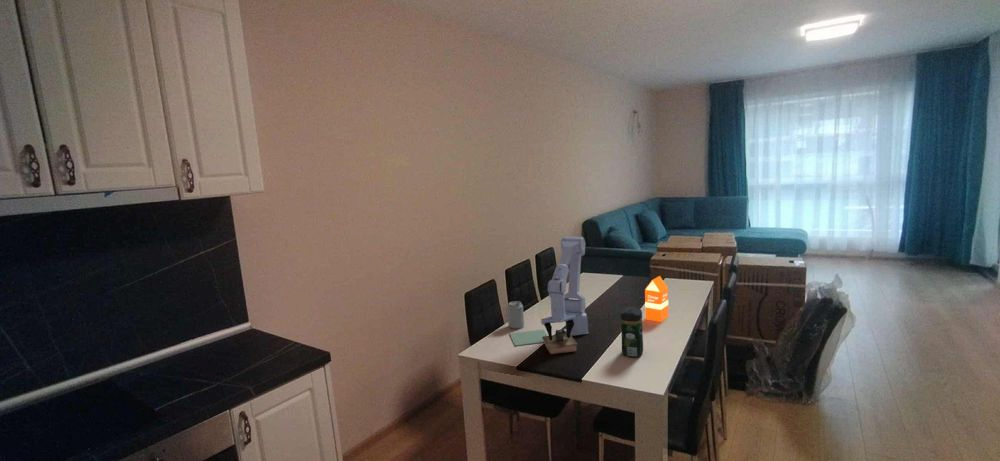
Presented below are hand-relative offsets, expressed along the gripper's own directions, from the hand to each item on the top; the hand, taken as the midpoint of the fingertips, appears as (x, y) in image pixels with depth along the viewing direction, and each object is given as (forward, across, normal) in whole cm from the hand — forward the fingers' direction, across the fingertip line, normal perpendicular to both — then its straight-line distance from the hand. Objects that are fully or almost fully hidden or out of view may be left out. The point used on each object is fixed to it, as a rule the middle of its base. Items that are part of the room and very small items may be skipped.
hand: (559, 338), depth 190 cm
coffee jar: (+4, +26, -14) cm, 30 cm away
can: (+4, -13, +30) cm, 33 cm away
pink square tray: (+4, 0, 0) cm, 4 cm away
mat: (+4, -10, +14) cm, 18 cm away
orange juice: (+4, +54, +19) cm, 57 cm away
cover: (+2, 0, 0) cm, 2 cm away
